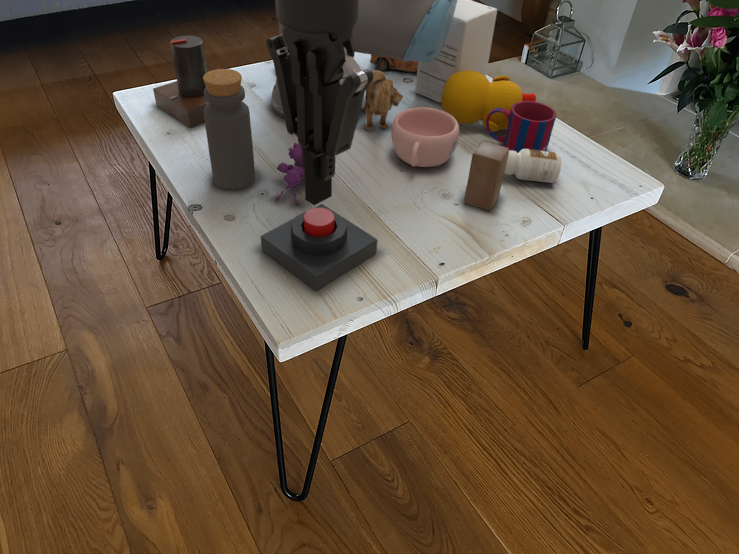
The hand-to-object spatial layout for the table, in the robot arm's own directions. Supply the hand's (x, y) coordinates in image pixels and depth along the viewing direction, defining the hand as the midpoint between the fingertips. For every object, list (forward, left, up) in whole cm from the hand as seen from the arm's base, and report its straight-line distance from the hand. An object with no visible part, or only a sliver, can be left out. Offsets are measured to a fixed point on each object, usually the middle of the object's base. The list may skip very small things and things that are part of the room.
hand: (318, 198), depth 69 cm
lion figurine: (-19, +30, -8) cm, 37 cm away
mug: (-6, +26, -8) cm, 28 cm away
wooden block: (+7, +24, -8) cm, 26 cm away
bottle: (-20, +2, -8) cm, 22 cm away
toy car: (-30, +49, -8) cm, 58 cm away
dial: (-41, +10, -5) cm, 43 cm away
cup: (+2, +40, -8) cm, 40 cm away
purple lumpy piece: (-13, +7, -8) cm, 17 cm away
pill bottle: (+11, +36, -6) cm, 39 cm away
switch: (0, 0, -4) cm, 5 cm away
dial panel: (-41, +10, -8) cm, 43 cm away
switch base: (0, 0, -8) cm, 8 cm away
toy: (0, +47, -5) cm, 47 cm away
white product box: (-17, +47, -8) cm, 50 cm away
